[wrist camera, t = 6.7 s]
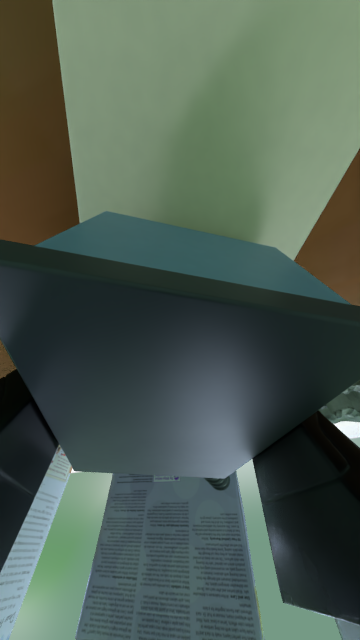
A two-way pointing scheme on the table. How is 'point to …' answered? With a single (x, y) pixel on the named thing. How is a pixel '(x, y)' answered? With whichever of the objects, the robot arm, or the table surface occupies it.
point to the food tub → (171, 344)
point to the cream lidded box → (212, 111)
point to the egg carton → (344, 406)
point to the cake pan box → (172, 563)
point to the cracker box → (31, 542)
